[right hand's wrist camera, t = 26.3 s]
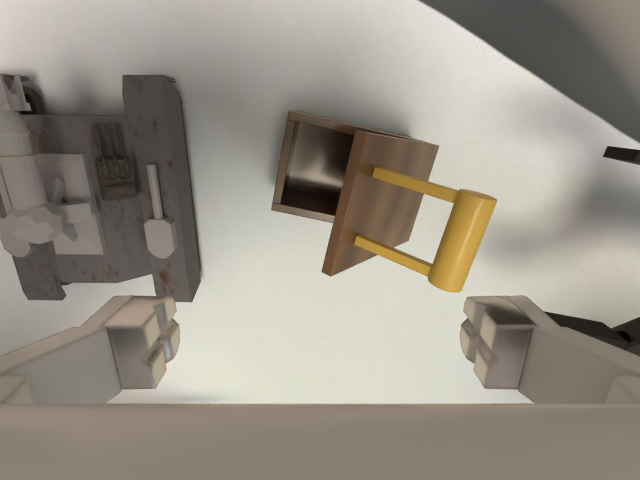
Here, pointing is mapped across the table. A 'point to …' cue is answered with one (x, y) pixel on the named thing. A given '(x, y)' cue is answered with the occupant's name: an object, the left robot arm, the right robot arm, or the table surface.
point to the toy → (98, 192)
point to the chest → (315, 164)
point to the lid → (402, 211)
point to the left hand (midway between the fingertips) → (575, 244)
